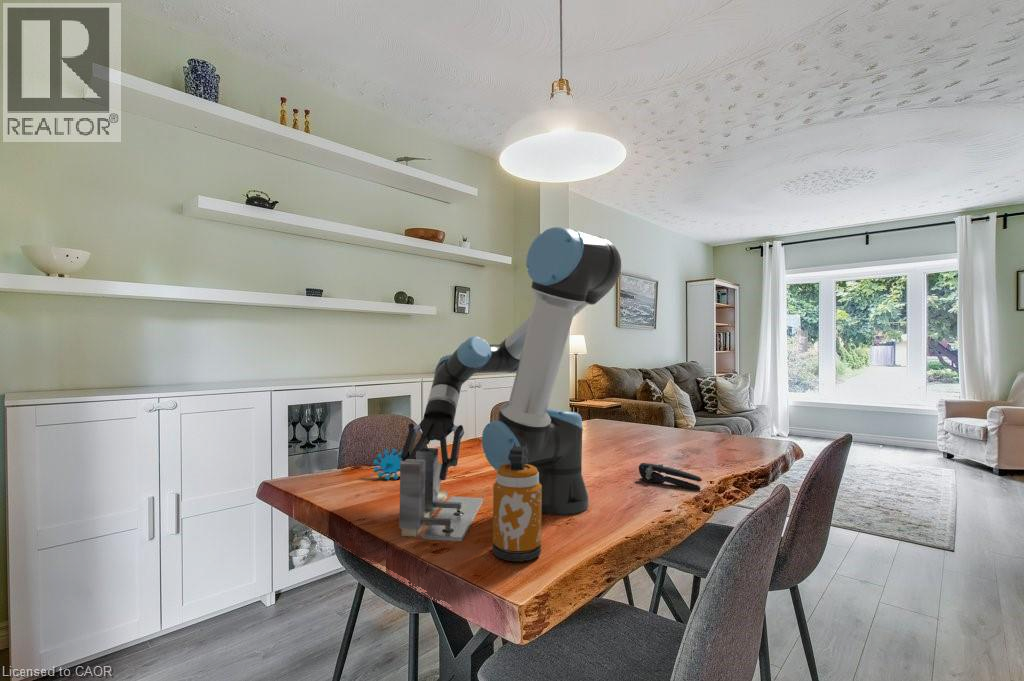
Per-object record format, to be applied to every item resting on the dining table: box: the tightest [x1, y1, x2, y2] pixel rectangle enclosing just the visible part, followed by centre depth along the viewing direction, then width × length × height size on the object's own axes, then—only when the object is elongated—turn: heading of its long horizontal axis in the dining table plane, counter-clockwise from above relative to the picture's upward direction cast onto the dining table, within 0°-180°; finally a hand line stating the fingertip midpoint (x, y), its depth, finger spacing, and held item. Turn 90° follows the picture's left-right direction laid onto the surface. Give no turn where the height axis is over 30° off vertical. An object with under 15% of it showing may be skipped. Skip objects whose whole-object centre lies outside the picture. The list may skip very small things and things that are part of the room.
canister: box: [492, 443, 542, 562], centre depth 91 cm, size 9×11×20 cm
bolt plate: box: [421, 495, 484, 542], centre depth 108 cm, size 25×8×1 cm, turn 174°
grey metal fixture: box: [398, 459, 451, 538], centre depth 110 cm, size 26×10×14 cm, turn 174°
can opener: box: [638, 462, 703, 491], centre depth 137 cm, size 18×7×6 cm, turn 53°
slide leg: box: [416, 447, 462, 512], centre depth 109 cm, size 4×10×14 cm, turn 84°
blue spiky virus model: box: [372, 448, 403, 481], centre depth 142 cm, size 11×6×10 cm
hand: (421, 491), depth 105 cm, fingers open, 5 cm apart
